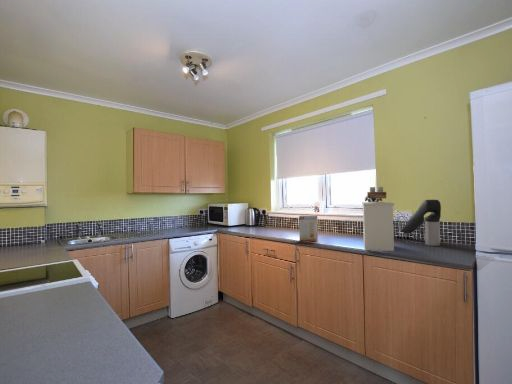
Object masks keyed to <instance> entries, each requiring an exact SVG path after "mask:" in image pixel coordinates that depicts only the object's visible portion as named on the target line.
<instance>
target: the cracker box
mask: <svg viewBox="0 0 512 384" xmlns="http://www.w3.org/2000/svg"><path fill="white" fill-rule="evenodd" d="M298 218H299V219H298V220H299V221H298V222H299V224H298V227H299V228H298V229H299V241H303V242H318V241H319V238H318V237H319V234H318V233H319V231H318V230H319V229H318V215H310V214H309V215H303V214H302V215H299V216H298Z"/></svg>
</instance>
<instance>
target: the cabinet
mask: <svg viewBox="0 0 512 384" xmlns="http://www.w3.org/2000/svg"><path fill="white" fill-rule="evenodd" d="M361 204H362V213H363V214H362V220H363V221H362V223H363V224H362V225H363V229H362V230H363V247H364V250H365V251H382V252H385V251H386V252H395V240H394V239H395V235H394V234H395V232H394V231H395V230H394V229H395V227H394V224H393V220H394V206H395V203H394V202H391V201H378V202H368V201H362V203H361Z"/></svg>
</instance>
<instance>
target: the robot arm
mask: <svg viewBox="0 0 512 384" xmlns="http://www.w3.org/2000/svg"><path fill="white" fill-rule="evenodd" d="M364 202H383V198H367V195H366V196H365V197H364ZM441 211H442V205H441V202H440V200H439V199H425V200H423V201H422V203H421V204H420V205H419V207H418V209H416V211H415V212H414V214H413V215H411V217H410V218H409V219H408V220H407V222H406V223H405V227H404V228H403V229H402V230H401V232H404V233H411V232H413V231H414V232H416V230H417V229H419V228H420V227H421V226H422V225H423V224H424V244H425V245H427V246H432V247H433V246H434V247H436V246H438V247H439V246H440V245H441V234H440V233H441V232H440V231H441V229H440V227H441V225H440V224H441V222H440V220H441V213H442V212H441ZM428 213H430V214H428ZM426 214H428V215H427V216H426ZM414 232H413V233H414Z"/></svg>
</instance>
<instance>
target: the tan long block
mask: <svg viewBox="0 0 512 384" xmlns="http://www.w3.org/2000/svg"><path fill="white" fill-rule="evenodd" d="M366 196H367V198H368V199H369V198H378V199H379V198H382V199H387V191H384V186H378V187H377V191H376V187H375V186H373V187H372V186H371V187H369V191H367V193H366Z"/></svg>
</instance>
